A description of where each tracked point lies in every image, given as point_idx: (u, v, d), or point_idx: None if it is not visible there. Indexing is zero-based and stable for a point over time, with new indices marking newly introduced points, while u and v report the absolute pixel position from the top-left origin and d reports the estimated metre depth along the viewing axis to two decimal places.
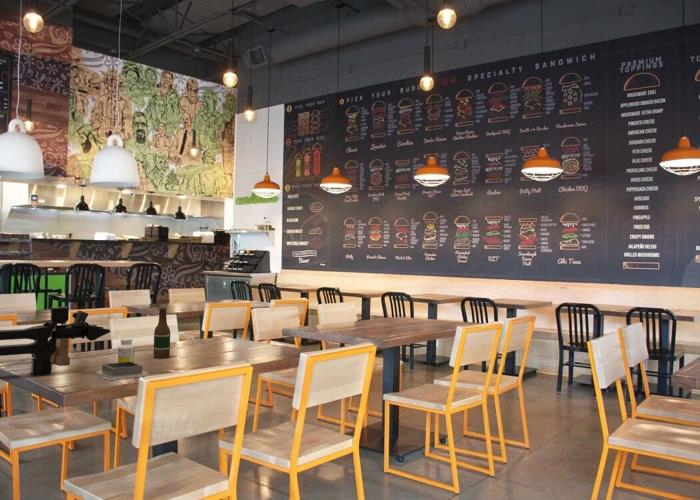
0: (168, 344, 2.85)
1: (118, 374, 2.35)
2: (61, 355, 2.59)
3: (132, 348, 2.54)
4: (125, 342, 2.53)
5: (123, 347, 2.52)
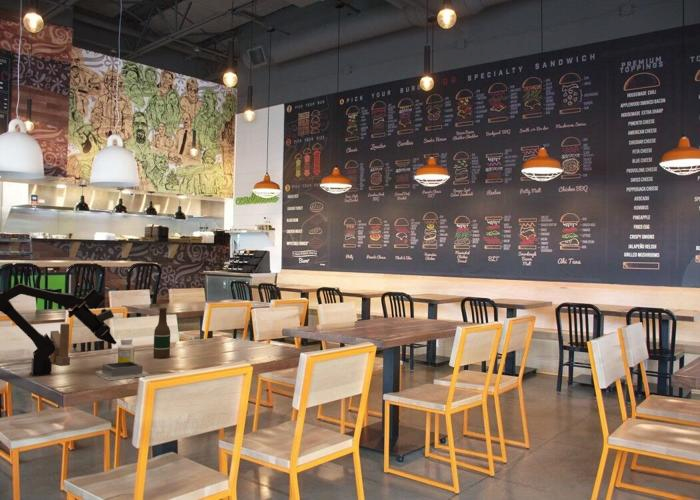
0: (168, 344, 2.85)
1: (118, 374, 2.35)
2: (61, 355, 2.59)
3: (132, 348, 2.54)
4: (125, 342, 2.53)
5: (123, 347, 2.52)
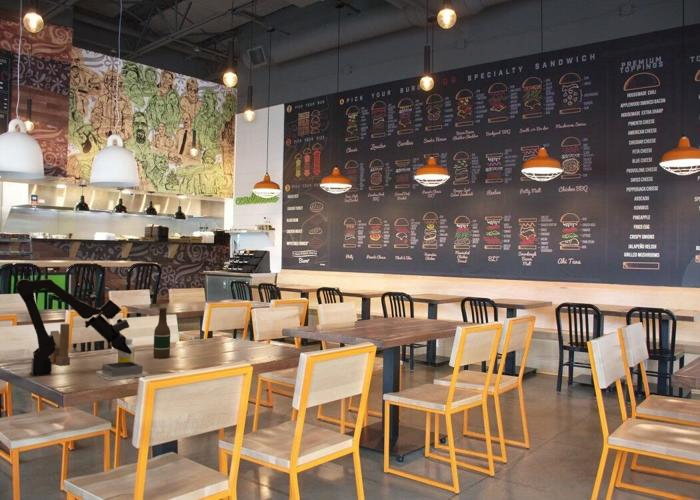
0: (168, 344, 2.85)
1: (118, 374, 2.35)
2: (61, 355, 2.59)
3: (132, 348, 2.54)
4: (125, 342, 2.53)
5: None
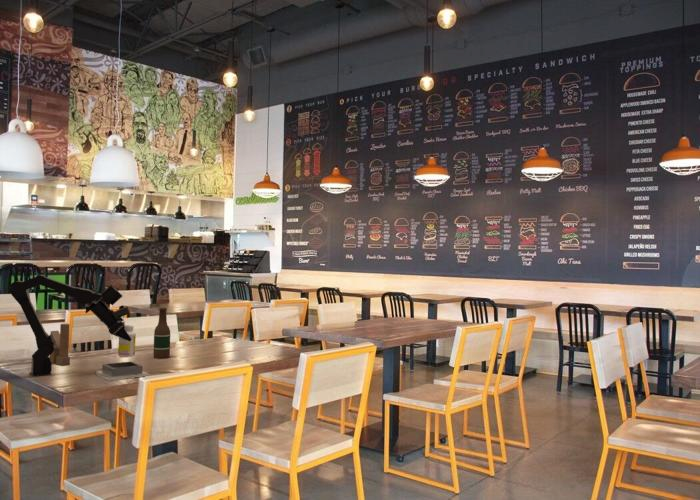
0: (168, 344, 2.85)
1: (118, 374, 2.35)
2: (61, 355, 2.59)
3: (132, 335, 2.50)
4: (125, 329, 2.49)
5: None
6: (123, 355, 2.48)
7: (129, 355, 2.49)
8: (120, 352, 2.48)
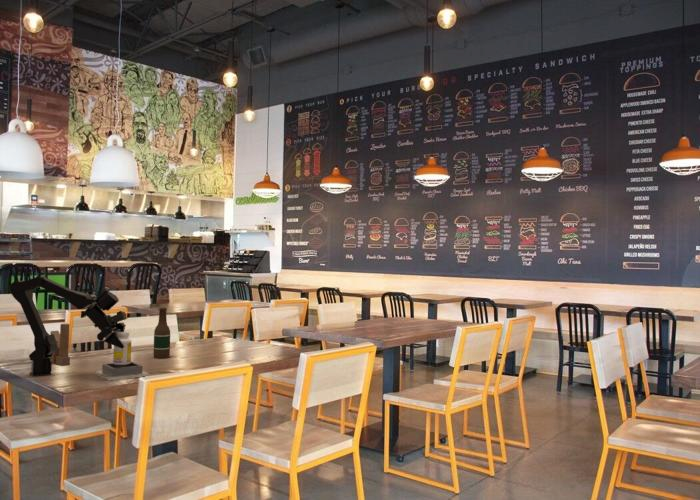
0: (168, 344, 2.85)
1: (118, 374, 2.35)
2: (61, 355, 2.59)
3: (126, 342, 2.39)
4: (119, 335, 2.39)
5: None
6: (116, 363, 2.38)
7: (122, 363, 2.38)
8: (114, 359, 2.39)
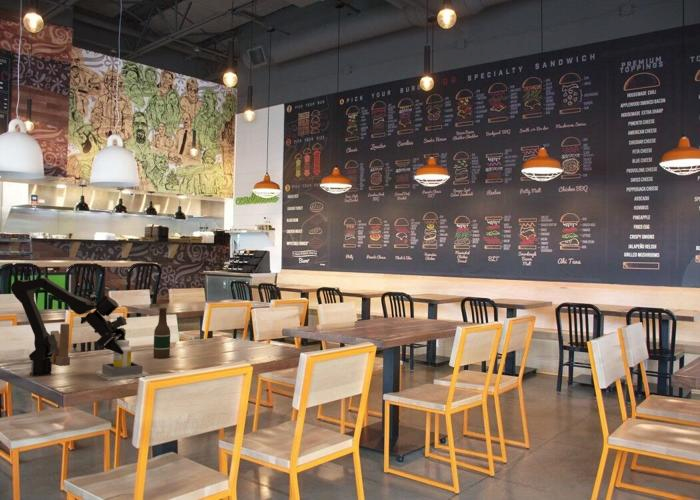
0: (168, 344, 2.85)
1: (118, 374, 2.35)
2: (61, 355, 2.59)
3: (126, 351, 2.39)
4: (119, 344, 2.39)
5: None
6: None
7: None
8: None
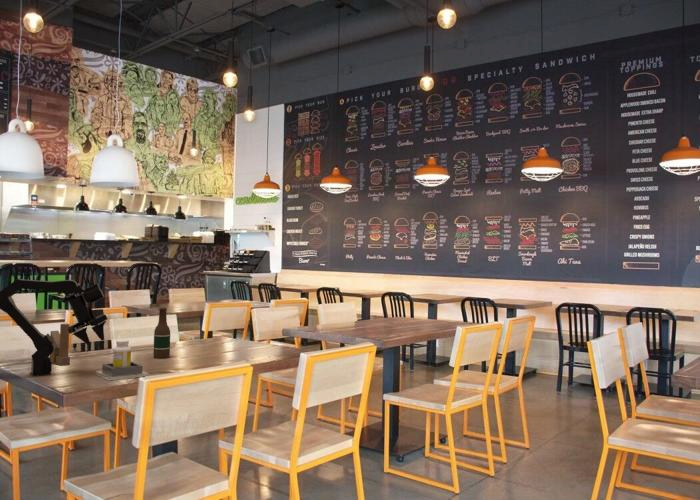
0: (168, 344, 2.85)
1: (118, 374, 2.35)
2: (61, 355, 2.59)
3: (125, 351, 2.39)
4: (118, 344, 2.39)
5: (116, 349, 2.39)
6: None
7: None
8: None
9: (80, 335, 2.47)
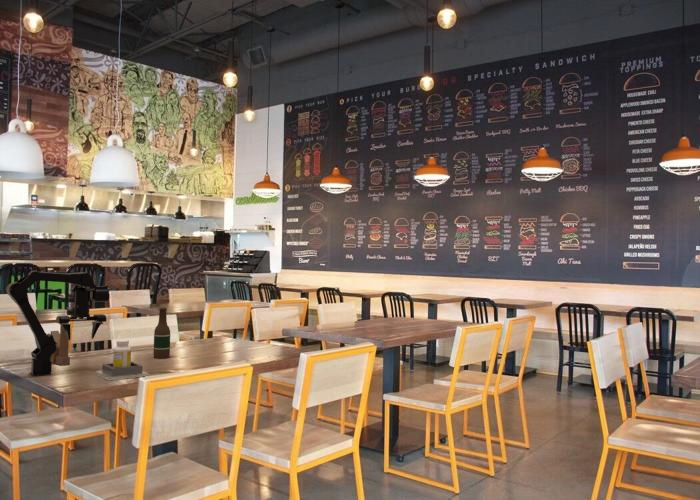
0: (168, 344, 2.85)
1: (118, 374, 2.35)
2: (61, 355, 2.59)
3: (125, 351, 2.39)
4: (119, 344, 2.39)
5: (116, 349, 2.39)
6: None
7: None
8: None
9: None
